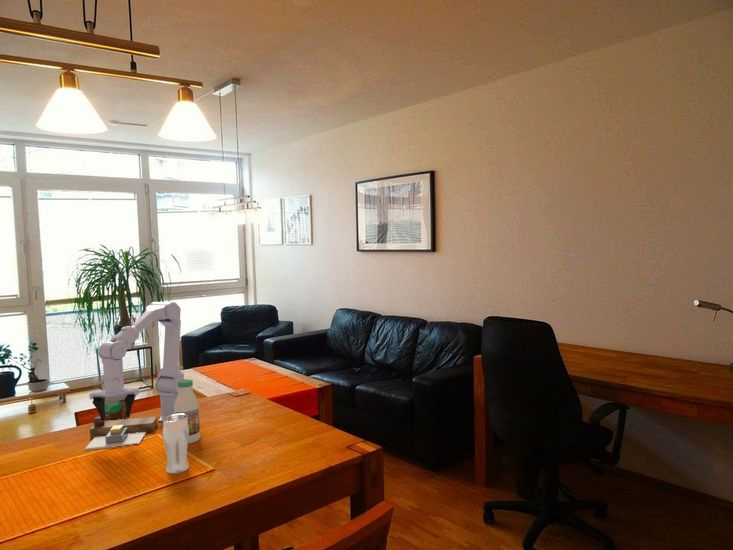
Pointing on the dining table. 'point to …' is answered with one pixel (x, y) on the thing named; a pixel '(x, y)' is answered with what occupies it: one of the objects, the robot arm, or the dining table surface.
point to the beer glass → (176, 442)
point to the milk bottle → (188, 408)
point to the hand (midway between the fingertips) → (115, 418)
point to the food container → (115, 408)
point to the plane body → (132, 424)
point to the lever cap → (116, 434)
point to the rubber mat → (101, 443)
